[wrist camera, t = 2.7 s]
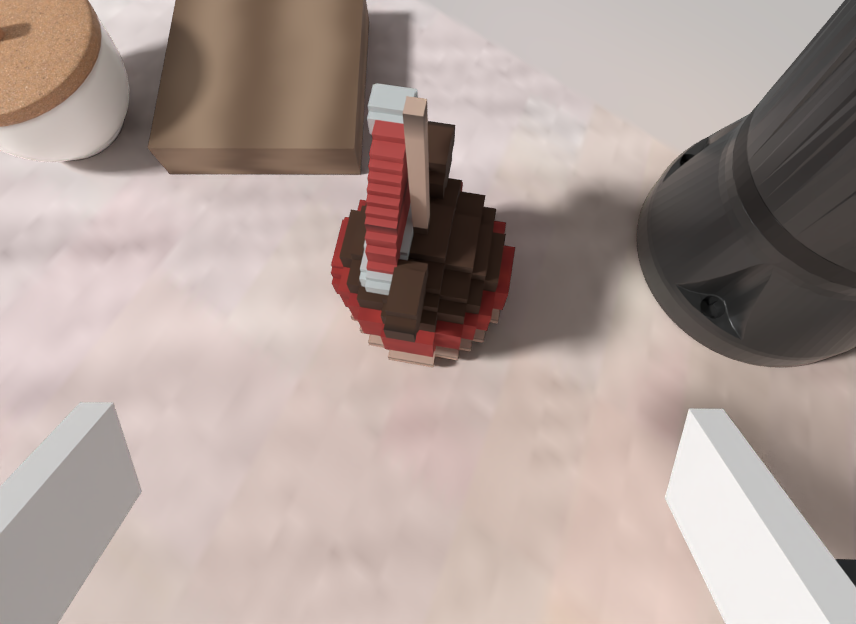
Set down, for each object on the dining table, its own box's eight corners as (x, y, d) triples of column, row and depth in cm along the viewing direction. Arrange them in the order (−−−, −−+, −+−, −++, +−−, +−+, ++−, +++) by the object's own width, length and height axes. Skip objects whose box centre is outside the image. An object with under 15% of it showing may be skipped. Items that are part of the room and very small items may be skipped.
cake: (486, 390, 33) (540, 285, 16) (333, 362, 34) (225, 233, 16) (510, 229, 36) (578, -5, 19) (370, 207, 37) (312, -39, 19)
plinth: (369, 21, 41) (363, -14, 38) (360, 174, 37) (354, 148, 34) (195, 21, 41) (178, -13, 39) (169, 173, 38) (147, 148, 35)
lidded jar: (-27, 126, 39) (-164, 19, 30) (97, 36, 41) (3, -89, 32) (62, 219, 37) (-59, 133, 28) (188, 119, 39) (113, 9, 30)
